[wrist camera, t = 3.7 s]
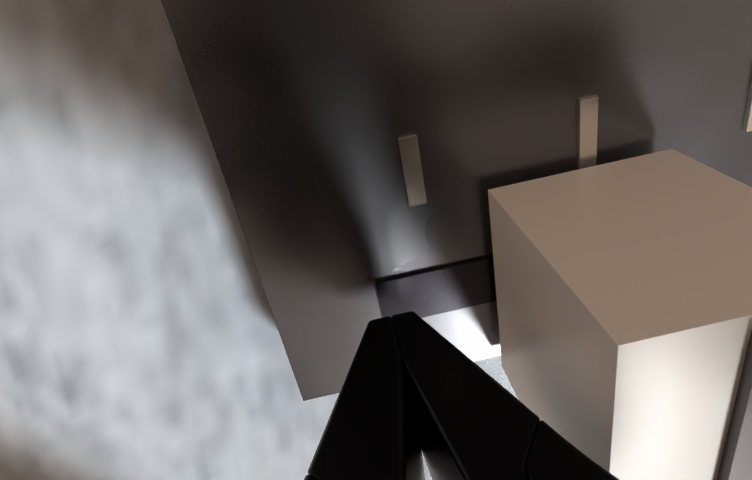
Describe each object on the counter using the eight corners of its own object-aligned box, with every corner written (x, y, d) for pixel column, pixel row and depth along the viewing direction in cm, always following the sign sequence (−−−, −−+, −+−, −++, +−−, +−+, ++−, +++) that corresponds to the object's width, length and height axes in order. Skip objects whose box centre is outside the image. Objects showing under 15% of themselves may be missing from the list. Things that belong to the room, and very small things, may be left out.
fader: (671, 148, 9) (945, 282, 5) (652, 331, 10) (837, 523, 7) (487, 189, 8) (627, 355, 5) (501, 366, 10) (608, 579, 7)
